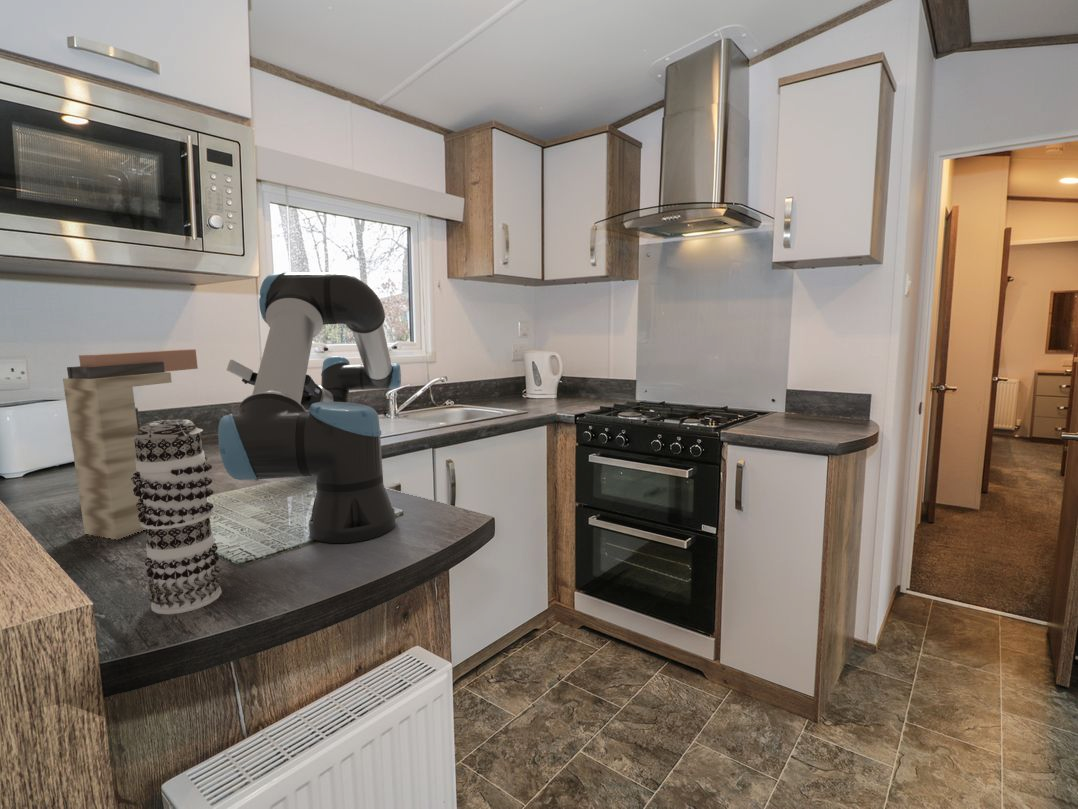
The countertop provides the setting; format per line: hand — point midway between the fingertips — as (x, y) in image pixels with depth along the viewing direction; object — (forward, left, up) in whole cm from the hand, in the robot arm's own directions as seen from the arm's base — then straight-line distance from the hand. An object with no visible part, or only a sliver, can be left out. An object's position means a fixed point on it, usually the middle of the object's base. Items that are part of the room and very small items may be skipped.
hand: (251, 365), depth 134 cm
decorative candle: (-38, +48, -29) cm, 68 cm away
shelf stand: (0, +29, -28) cm, 41 cm away
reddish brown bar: (0, +25, +1) cm, 25 cm away
